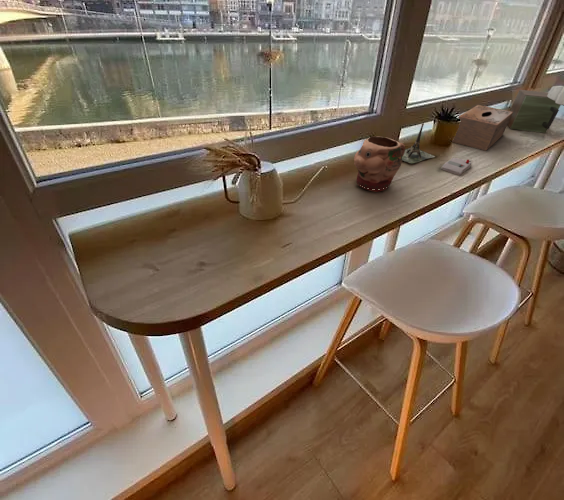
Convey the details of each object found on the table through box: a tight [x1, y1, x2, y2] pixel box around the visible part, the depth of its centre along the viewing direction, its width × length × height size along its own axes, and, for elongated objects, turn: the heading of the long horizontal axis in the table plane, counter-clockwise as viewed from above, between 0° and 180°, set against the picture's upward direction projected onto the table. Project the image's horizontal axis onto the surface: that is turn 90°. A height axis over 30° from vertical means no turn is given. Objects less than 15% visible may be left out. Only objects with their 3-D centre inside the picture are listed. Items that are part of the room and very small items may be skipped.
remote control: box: [440, 157, 473, 176], centre depth 114 cm, size 7×16×3 cm, turn 136°
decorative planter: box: [353, 135, 406, 193], centre depth 99 cm, size 20×12×14 cm, turn 128°
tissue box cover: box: [451, 104, 513, 152], centre depth 137 cm, size 26×14×10 cm, turn 138°
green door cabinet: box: [507, 89, 549, 129], centre depth 151 cm, size 11×15×15 cm
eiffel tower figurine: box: [402, 121, 436, 164], centre depth 118 cm, size 15×10×13 cm
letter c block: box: [510, 96, 562, 134], centre depth 144 cm, size 6×15×14 cm, turn 73°
